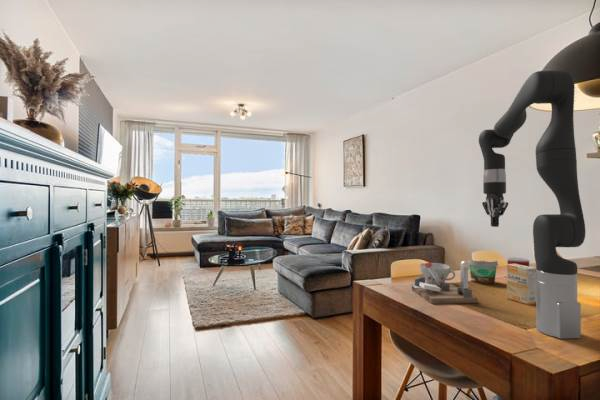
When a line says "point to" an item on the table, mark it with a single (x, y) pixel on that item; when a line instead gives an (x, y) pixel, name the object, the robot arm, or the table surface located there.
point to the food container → (483, 271)
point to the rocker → (430, 287)
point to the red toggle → (433, 273)
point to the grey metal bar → (464, 276)
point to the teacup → (441, 271)
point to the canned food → (518, 261)
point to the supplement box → (521, 283)
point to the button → (419, 280)
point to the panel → (445, 294)
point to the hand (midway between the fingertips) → (494, 226)
